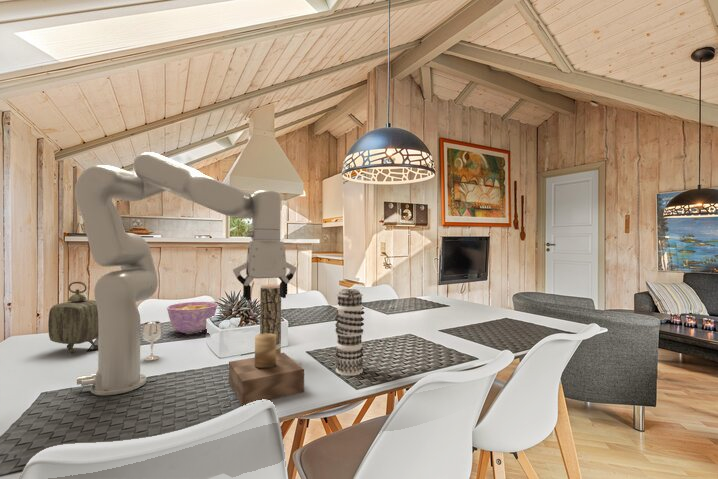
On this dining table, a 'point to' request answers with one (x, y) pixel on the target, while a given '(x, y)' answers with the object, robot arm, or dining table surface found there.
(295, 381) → the socket block
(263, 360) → the oak peg
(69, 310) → the tabletop clock
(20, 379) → the dining table surface
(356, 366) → the patterned tall cylinder
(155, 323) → the wineglass
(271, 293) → the bark pattern cylinder
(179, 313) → the bowl of food
